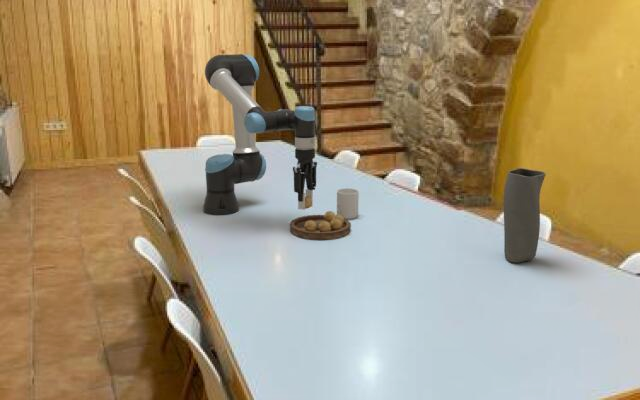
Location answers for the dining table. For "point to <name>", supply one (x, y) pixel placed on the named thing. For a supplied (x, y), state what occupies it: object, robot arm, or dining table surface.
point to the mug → (347, 203)
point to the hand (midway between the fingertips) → (305, 207)
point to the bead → (308, 202)
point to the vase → (522, 214)
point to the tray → (317, 229)
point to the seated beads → (326, 223)
